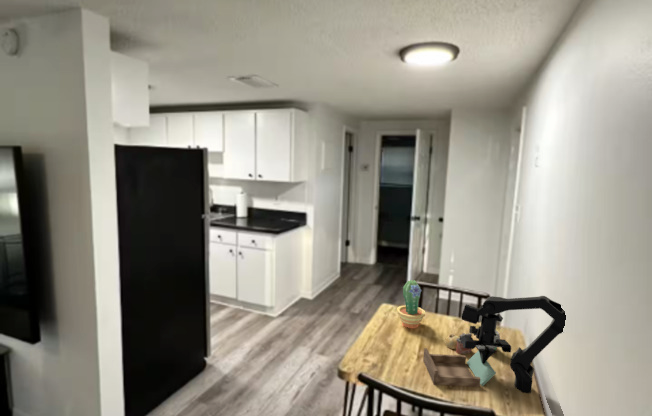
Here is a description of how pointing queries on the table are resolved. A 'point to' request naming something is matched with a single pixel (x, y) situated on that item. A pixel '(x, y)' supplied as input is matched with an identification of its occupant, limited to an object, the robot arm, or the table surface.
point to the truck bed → (449, 370)
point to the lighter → (460, 348)
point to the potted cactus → (411, 306)
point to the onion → (451, 341)
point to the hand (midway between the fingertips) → (482, 363)
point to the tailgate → (481, 368)
